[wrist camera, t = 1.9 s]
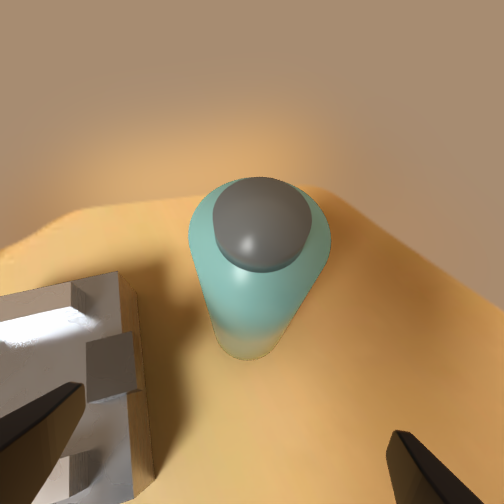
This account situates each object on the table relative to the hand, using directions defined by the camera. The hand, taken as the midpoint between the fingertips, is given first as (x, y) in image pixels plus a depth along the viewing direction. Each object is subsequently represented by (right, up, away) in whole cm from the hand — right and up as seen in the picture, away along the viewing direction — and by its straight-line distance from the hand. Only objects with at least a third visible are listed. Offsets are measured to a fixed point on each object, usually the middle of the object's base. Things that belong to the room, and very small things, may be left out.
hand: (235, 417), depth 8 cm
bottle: (0, -1, +13) cm, 13 cm away
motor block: (-11, -4, +11) cm, 16 cm away
